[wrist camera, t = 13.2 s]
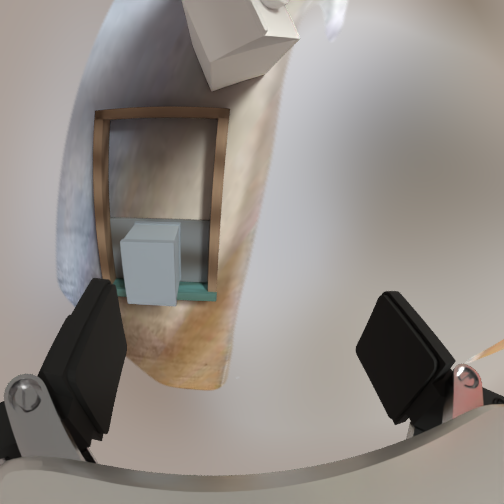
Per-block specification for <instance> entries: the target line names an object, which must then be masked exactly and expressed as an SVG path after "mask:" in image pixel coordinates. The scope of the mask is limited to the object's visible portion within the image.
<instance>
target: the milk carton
mask: <svg viewBox="0 0 504 504" xmlns="http://www.w3.org/2000/svg"><path fill="white" fill-rule="evenodd" d="M288 3H289V0H182V4H183V8H184V12H185V16H186V21H187V25H188V29H189V33H190V37H191V41H192V45H193V48H194V51H195V53H196V56H197V58H198V60H199V63H200V65H201V68H202V70H203V72H204V75H205V77H206V80H207V82H208V85H209V87H210V89H211V91H215V90H218V89H221V88H223V87H226V86H229V85H232V84H235V83H238V82H241V81H244V80H248V79H251V78H254V77H258V76H261V75H265V74H266V73H267V72H268V71H269V70H270V69H271V68H272V67H273V66H274V65H275V64H276V63H277V62H278V61H279V60H280V59H281V57H282V56H283V55H284V54H285V53H286V52H287V51H288V50H289V49H290V48H291V47H292V46H293V45H294V44H295V43H296V42H298V40H299V39H300V37H299V34H298V32H297V30H296V27H295V25H294V23H293V21H292V19H291V17H290V15H289V12H288V10H287V8H286V6H285V5H286V4H288Z"/></svg>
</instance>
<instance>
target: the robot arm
mask: <svg viewBox="0 0 504 504" xmlns="http://www.w3.org/2000/svg"><path fill="white" fill-rule="evenodd" d="M126 351H127V344H126V339H125V334H124V329H123V324H122V319H121V313H120V308H119V302H118V295H117V289H116V285H115V284H111V281H110V280H109V279H100V278H93V279H92V280H91V282H90V283H89V285H88V287H87V288H86V290H85V292H84V293H83V295H82V297H81V298H80V300H79V302H78V304H77V305H76V307H75V309H74V311H73V312H72V314H71V315H69V316H68V317H67V318H66V320H65V322H64V324H63V325H62V327H61V329H60V331H59V333H58V335H57V336H56V338H55V340H54V342H53V344H52V346H51V348H50V350H49V352H48V354H47V356H46V359H45V361H44V363H43V365H42V367H41V369H40V371H39V374H38V376H35V375H33V374H22V375H18V376H17V377H15V378H13V379H12V380H11V381H10V382H9V383H8V385H7V387H6V389H5V393H4V401H3V402H1V403H0V504H504V397H503V396H501V395H499V394H496V393H494V392H492V391H490V390H487V389H485V388H483V387H482V382H481V378H480V376H479V374H478V373H477V372H476V370H475V369H473V368H472V367H471V366H468V365H466V364H458V365H457V366H456V367H455V368H454V369H453V371H452V370H451V369H450V368H451V367H452V365H453V364H454V363H455V359H454V358H453V357H452V355H451V354H450V353H449V351H448V350H447V349H446V348H445V346H444V345H443V344H442V342H441V341H440V340H439V339H438V337H437V336H436V335H435V334H434V332H433V331H432V330H431V329H430V328H429V327H428V325H427V324H426V323H425V322H424V320H423V319H422V318H421V317H420V316H419V315H418V313H417V312H416V311H415V310H414V309H413V307H412V306H411V305H410V304H409V303H408V302H407V301H406V299H405V298H404V297H403V296H402V295H401V294H400V293H399V292H397V291H386V292H384V293H383V294H382V295H381V296H380V297H379V298H378V300H377V303H376V305H375V307H374V309H373V312H372V314H371V316H370V319H369V321H368V323H367V325H366V327H365V329H364V331H363V334H362V336H361V338H360V340H359V342H358V344H357V346H356V353H357V356H358V358H359V360H360V362H361V363H362V365H363V367H364V369H365V371H366V373H367V375H368V377H369V379H370V381H371V383H372V385H373V387H374V388H375V391H376V392H377V394H378V396H379V398H380V400H381V402H382V404H383V406H384V408H385V410H386V412H387V414H388V416H389V417H390V418H391V419H392V420H393V422H394V424H395V425H397V424H400V423H403V422H405V421H406V420H407V419H408V418H410V420H411V422H410V425H409V429H408V434H407V438H406V440H404V441H401V442H398V443H396V444H393V445H390V446H387V447H384V448H382V449H379V450H375V451H372V452H369V453H365V454H362V455H359V456H355V457H351V458H348V459H344V460H340V461H336V462H331V463H327V464H322V465H317V466H312V467H306V468H301V469H294V470H288V471H280V472H272V473H263V474H250V475H231V476H230V475H229V476H197V475H178V474H163V473H153V472H145V471H137V470H130V469H124V468H118V467H113V466H107V465H101V464H98V462H97V460H96V459H95V457H94V456H93V454H92V452H91V451H90V449H89V447H90V445H91V440H92V439H95V440H99V441H102V438H103V433H104V434H107V433H108V431H109V427H110V422H111V416H112V411H113V406H114V402H115V397H116V392H117V388H118V384H119V380H120V376H121V372H122V368H123V364H124V360H125V356H126Z"/></svg>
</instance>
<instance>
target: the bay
mask: <svg viewBox="0 0 504 504" xmlns="http://www.w3.org/2000/svg"><path fill="white" fill-rule="evenodd" d="M229 113H230V109H226V108H210V107H136V108H120V109H108V110H98V111H95V120H94V139H93V187H94V207H95V220H96V231H97V241H98V249H99V257H100V264H101V271H102V277H103V279H109V280H110V281H111V284H115V285H116V289H117V295H118V296H122V297H127V295H126V288H125V281H124V279H123V278H124V274H123V266H122V257H121V247H120V241H121V240H122V239H124V238H125V236H126V235H127V234H128V232H129V231H130V230H131V229H132V227H133V226H134V223H135V222H136V221H143V222H181V280H180V283H179V288H178V293H177V300H194V301H216V296H217V271H218V252H219V235H220V219H221V205H222V191H223V179H224V166H225V155H226V144H227V133H228V123H229ZM132 118H207V119H218V126H217V136H216V148H215V160H214V173H213V187H212V203H211V220H189V219H158V218H110V208H109V173H108V166H109V131H110V120H116V119H132ZM209 225H210V240H209ZM208 246H209V265H208ZM207 274H208V282H207ZM181 281H185V282H181Z"/></svg>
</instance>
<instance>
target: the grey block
mask: <svg viewBox="0 0 504 504" xmlns="http://www.w3.org/2000/svg"><path fill="white" fill-rule="evenodd" d="M120 247H121V257H122V266H123V274H124V281H125V288H126V295H127V301H128V304H143V305H160V306H176V305H177V293H178V288H179V283H180V280H181V222H143V221H136V222H135V223H134V226H133V227H132V229H131V230H130V231H129V232H128V234H127V235H126V236H125V238H124V239H122V240H121V241H120Z"/></svg>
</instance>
